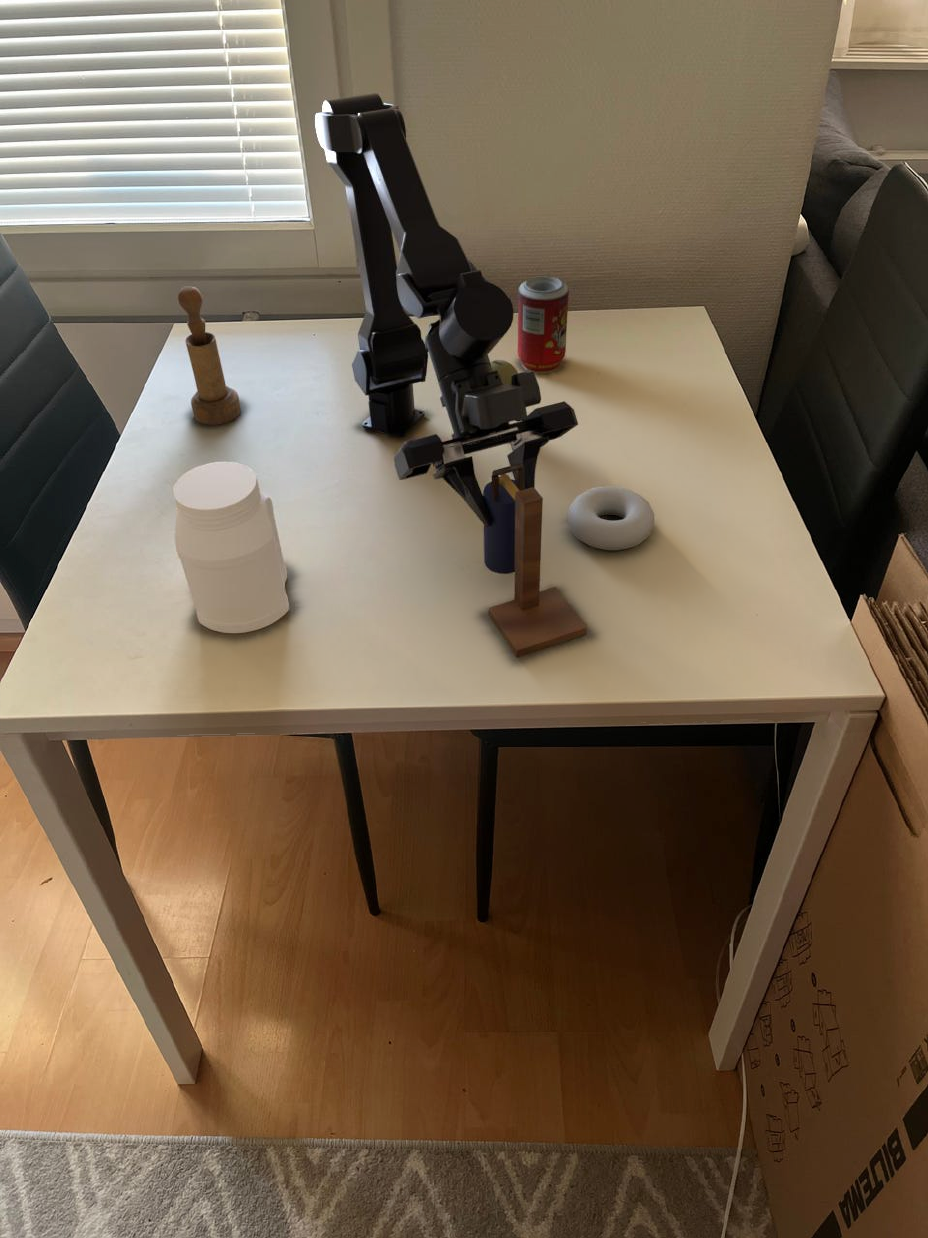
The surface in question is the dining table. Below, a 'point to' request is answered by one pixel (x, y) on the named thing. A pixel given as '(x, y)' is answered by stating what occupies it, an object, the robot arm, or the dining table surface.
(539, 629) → the hook stand
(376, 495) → the dining table surface
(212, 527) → the jar
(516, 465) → the blue handled weight
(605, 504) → the donut
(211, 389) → the mortar and pestle
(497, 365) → the light bulb
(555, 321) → the soda can
